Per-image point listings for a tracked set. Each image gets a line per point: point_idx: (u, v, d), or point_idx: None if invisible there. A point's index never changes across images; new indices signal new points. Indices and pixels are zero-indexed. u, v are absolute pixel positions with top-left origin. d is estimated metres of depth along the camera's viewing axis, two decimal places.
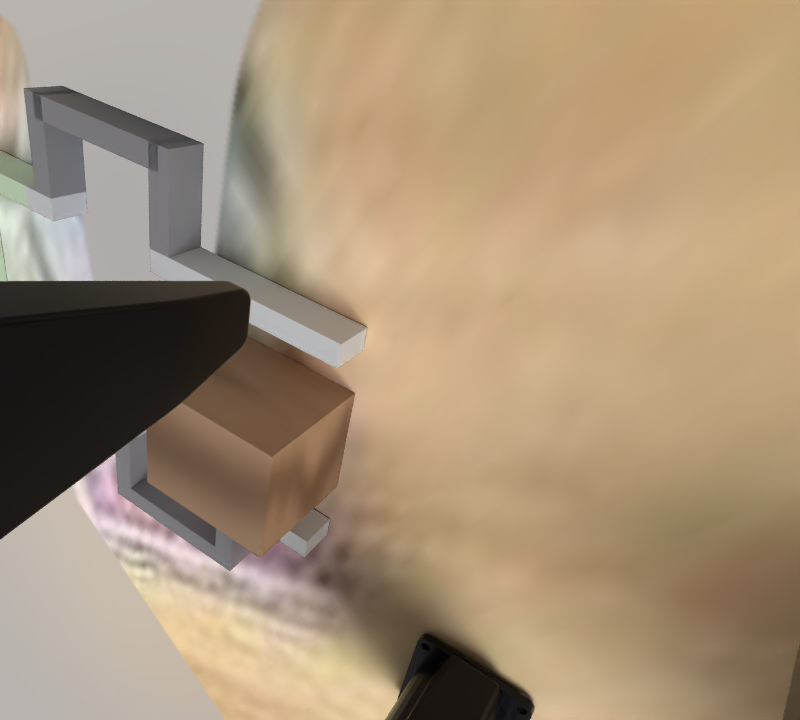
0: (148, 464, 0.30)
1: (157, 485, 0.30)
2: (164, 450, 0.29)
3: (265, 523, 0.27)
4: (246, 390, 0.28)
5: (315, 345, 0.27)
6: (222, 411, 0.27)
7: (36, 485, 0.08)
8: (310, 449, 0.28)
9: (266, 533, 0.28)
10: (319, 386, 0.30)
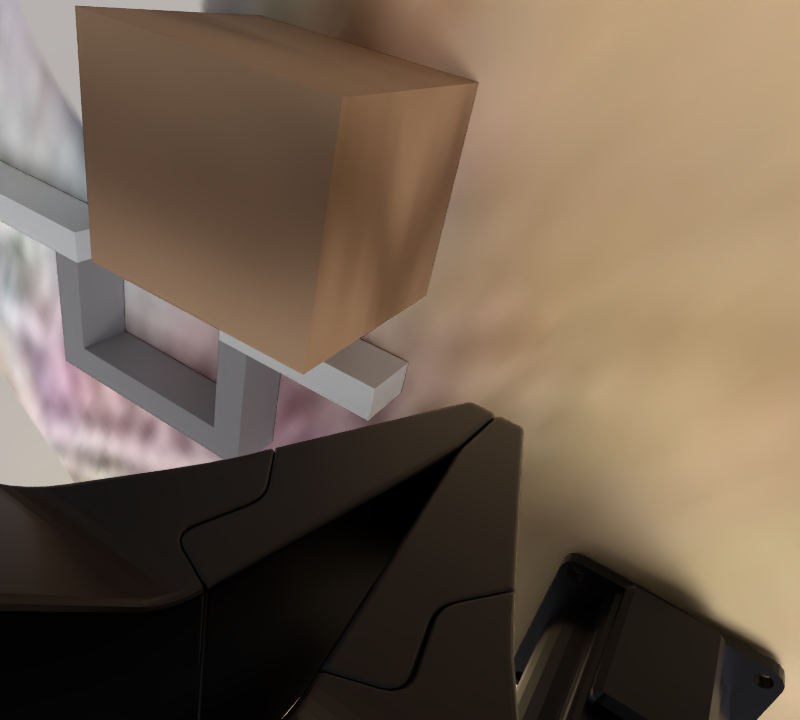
0: (90, 220, 0.16)
1: (107, 264, 0.17)
2: (117, 172, 0.15)
3: (317, 290, 0.13)
4: (277, 46, 0.14)
5: None
6: (232, 50, 0.13)
7: (299, 680, 0.07)
8: (404, 157, 0.14)
9: (317, 319, 0.14)
10: (412, 67, 0.16)
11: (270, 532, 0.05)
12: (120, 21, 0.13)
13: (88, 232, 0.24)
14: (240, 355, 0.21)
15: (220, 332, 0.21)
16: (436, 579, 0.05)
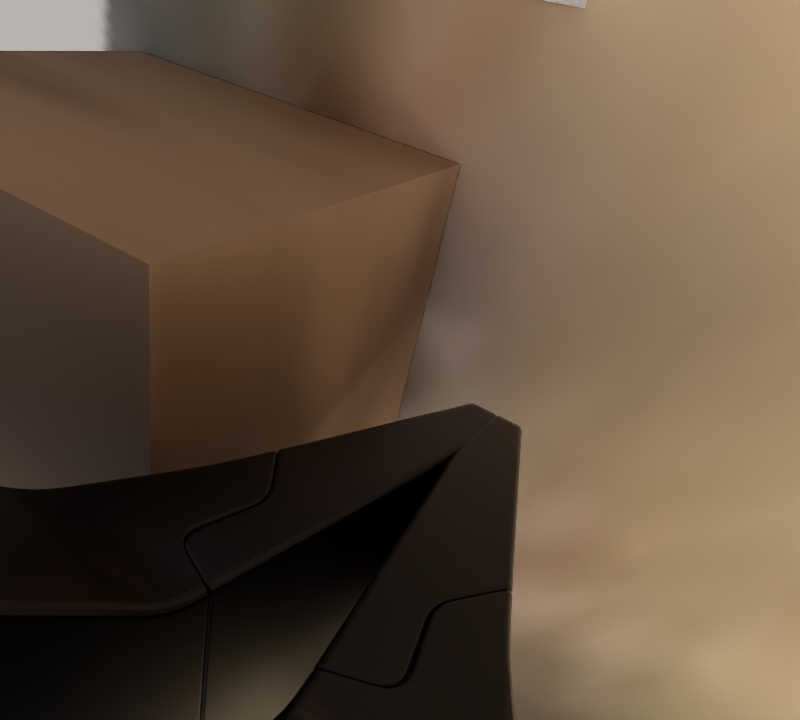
0: None
1: None
2: None
3: None
4: (108, 116, 0.08)
5: None
6: None
7: (302, 683, 0.07)
8: (324, 310, 0.08)
9: None
10: (350, 142, 0.10)
11: (273, 534, 0.05)
12: None
13: None
14: None
15: None
16: (432, 577, 0.05)
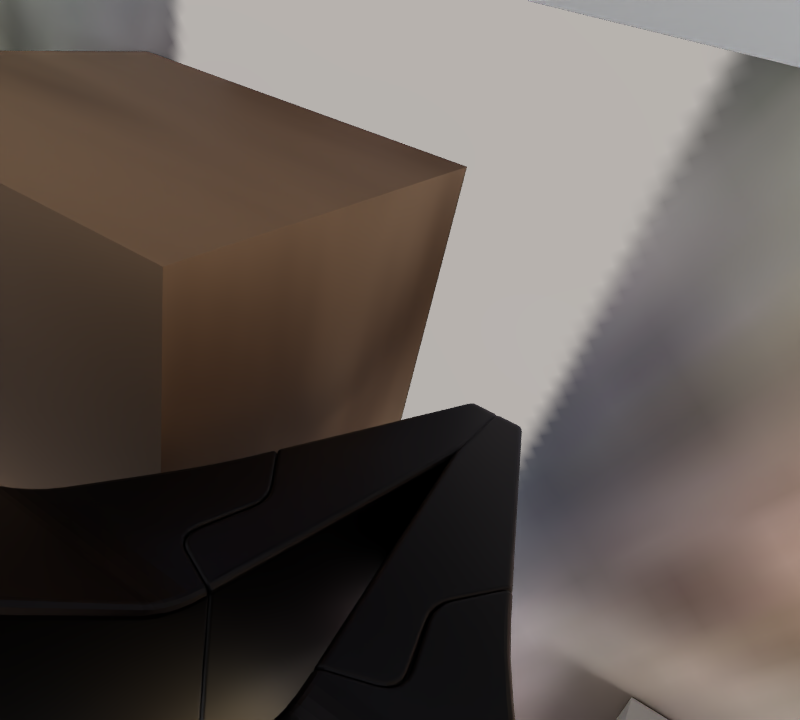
0: None
1: None
2: None
3: None
4: (118, 117, 0.08)
5: None
6: (0, 138, 0.07)
7: (302, 682, 0.07)
8: (332, 311, 0.08)
9: None
10: (357, 144, 0.10)
11: (273, 534, 0.05)
12: None
13: None
14: None
15: None
16: (433, 577, 0.05)
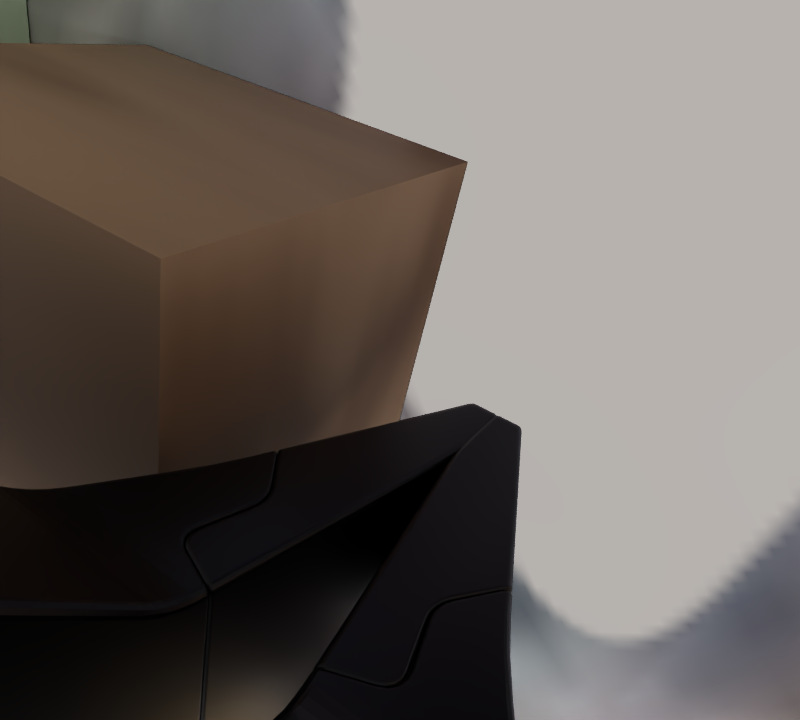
0: None
1: None
2: None
3: None
4: (116, 108, 0.08)
5: None
6: None
7: (302, 682, 0.07)
8: (331, 306, 0.08)
9: None
10: (357, 138, 0.10)
11: (274, 534, 0.05)
12: None
13: None
14: None
15: None
16: (433, 577, 0.05)
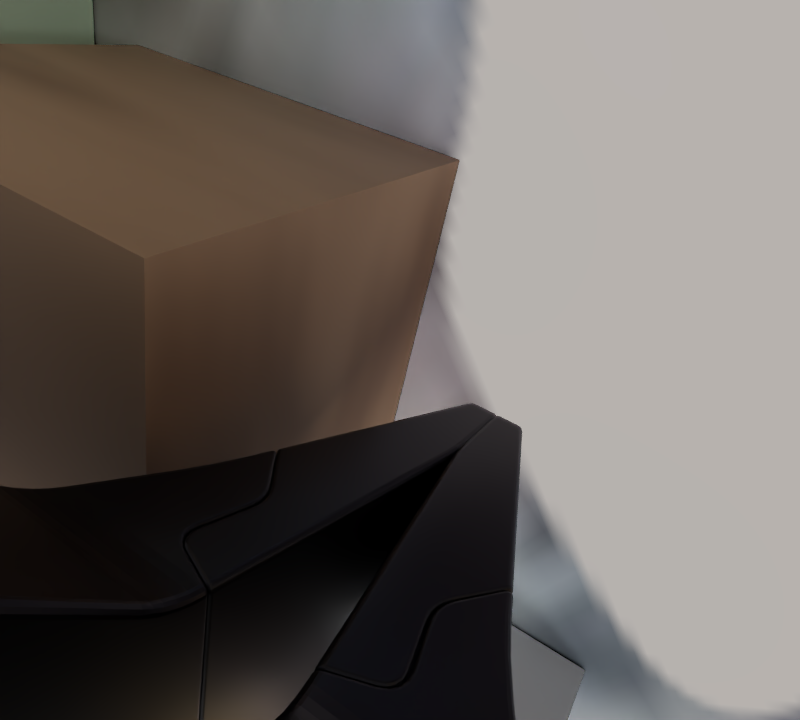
0: None
1: None
2: None
3: None
4: (105, 109, 0.08)
5: None
6: None
7: (301, 682, 0.07)
8: (322, 306, 0.08)
9: None
10: (348, 137, 0.10)
11: (272, 534, 0.05)
12: None
13: None
14: None
15: None
16: (433, 577, 0.05)
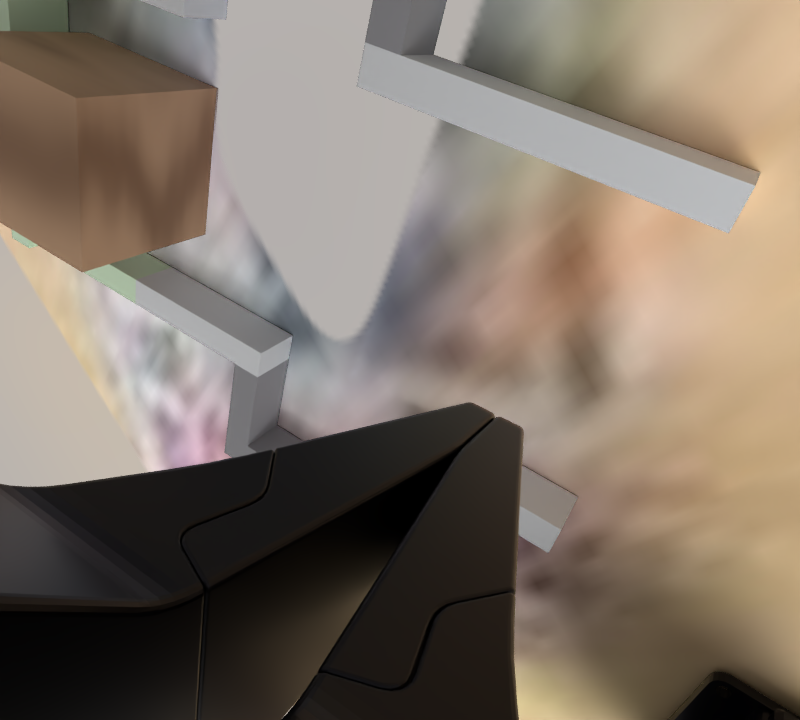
0: None
1: None
2: None
3: (83, 215, 0.22)
4: (71, 60, 0.22)
5: (691, 193, 0.16)
6: (28, 63, 0.21)
7: (299, 681, 0.07)
8: (148, 135, 0.22)
9: (87, 235, 0.22)
10: (171, 76, 0.24)
11: (270, 532, 0.05)
12: None
13: (269, 350, 0.26)
14: None
15: None
16: (436, 579, 0.05)
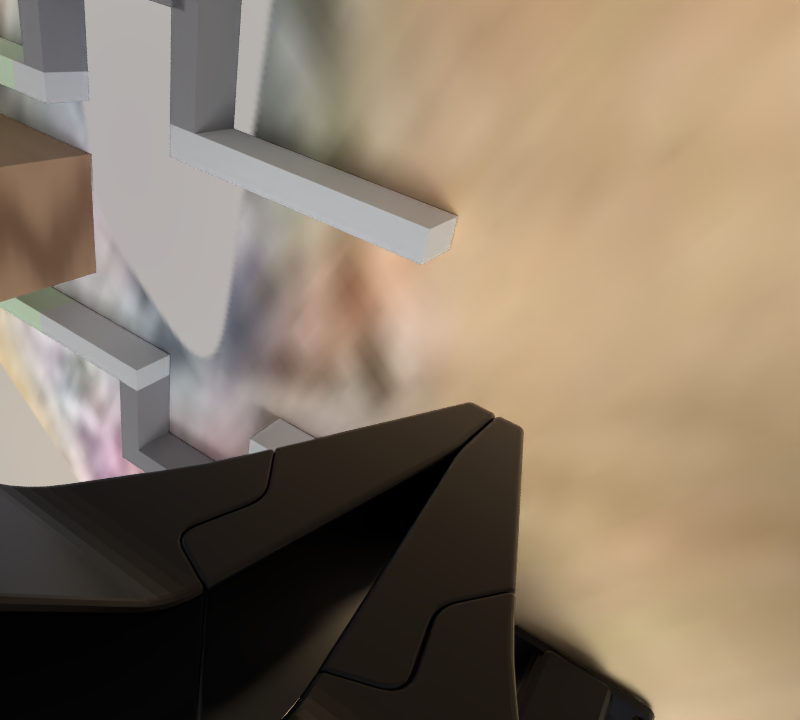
0: None
1: None
2: None
3: None
4: None
5: (393, 235, 0.20)
6: None
7: (299, 681, 0.07)
8: (27, 196, 0.28)
9: None
10: (52, 146, 0.29)
11: (270, 532, 0.05)
12: None
13: (146, 368, 0.31)
14: None
15: None
16: (436, 579, 0.05)
